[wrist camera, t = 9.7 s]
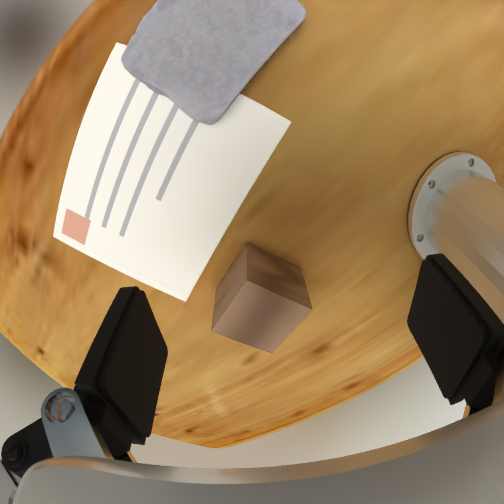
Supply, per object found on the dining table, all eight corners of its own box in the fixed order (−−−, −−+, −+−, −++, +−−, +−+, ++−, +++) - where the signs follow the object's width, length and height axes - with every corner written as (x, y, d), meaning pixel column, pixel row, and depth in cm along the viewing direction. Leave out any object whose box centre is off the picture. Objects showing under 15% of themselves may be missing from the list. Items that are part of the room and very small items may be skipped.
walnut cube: (300, 268, 28) (312, 309, 23) (267, 310, 31) (272, 353, 26) (246, 241, 27) (246, 280, 21) (216, 288, 29) (211, 330, 24)
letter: (291, 121, 21) (291, 122, 21) (186, 300, 30) (185, 301, 30) (117, 42, 17) (116, 42, 17) (54, 235, 26) (53, 236, 25)
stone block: (130, 77, 20) (222, 135, 21) (99, 67, 16) (205, 132, 17) (213, -25, 16) (313, 24, 17) (198, -53, 11) (318, -2, 13)
